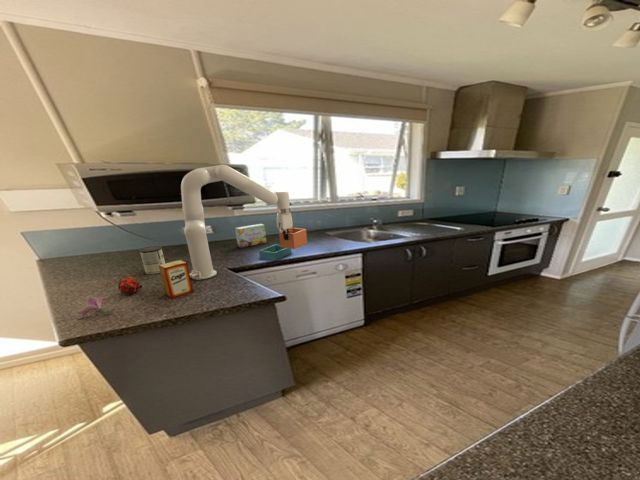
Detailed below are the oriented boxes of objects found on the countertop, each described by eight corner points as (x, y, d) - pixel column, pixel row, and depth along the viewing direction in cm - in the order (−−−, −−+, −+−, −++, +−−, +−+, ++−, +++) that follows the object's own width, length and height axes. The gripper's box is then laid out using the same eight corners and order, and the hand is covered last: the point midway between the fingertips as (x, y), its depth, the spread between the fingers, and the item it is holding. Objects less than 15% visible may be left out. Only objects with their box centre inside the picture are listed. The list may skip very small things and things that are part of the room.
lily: (118, 307, 131) (101, 291, 127) (124, 304, 123) (105, 287, 120) (88, 326, 122) (68, 309, 119) (92, 325, 115) (71, 307, 111)
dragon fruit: (131, 290, 148) (137, 301, 141) (111, 286, 141) (116, 297, 134) (141, 276, 149) (146, 285, 142) (121, 271, 142) (126, 281, 135)
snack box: (241, 248, 215) (238, 228, 210) (237, 246, 218) (234, 227, 213) (266, 242, 231) (264, 224, 226) (263, 241, 234) (260, 223, 230)
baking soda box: (171, 298, 137) (163, 267, 132) (166, 294, 141) (158, 264, 136) (193, 291, 144) (186, 261, 139) (187, 288, 148) (180, 259, 143)
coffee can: (144, 270, 170) (137, 248, 166) (165, 266, 177) (159, 244, 173) (146, 275, 163) (140, 252, 159) (168, 271, 170) (162, 248, 166)
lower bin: (276, 260, 189) (275, 252, 188) (259, 258, 194) (258, 250, 192) (291, 253, 204) (290, 246, 202) (276, 251, 208) (275, 244, 207)
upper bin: (294, 248, 183) (293, 233, 180) (280, 247, 186) (278, 232, 183) (307, 243, 195) (306, 229, 192) (293, 241, 199) (292, 227, 196)
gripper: (286, 208, 185) (289, 236, 191) (270, 212, 172) (274, 241, 177) (296, 209, 183) (299, 237, 189) (280, 213, 169) (284, 243, 175)
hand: (286, 239), depth 183 cm, fingers closed on upper bin, 1 cm apart
